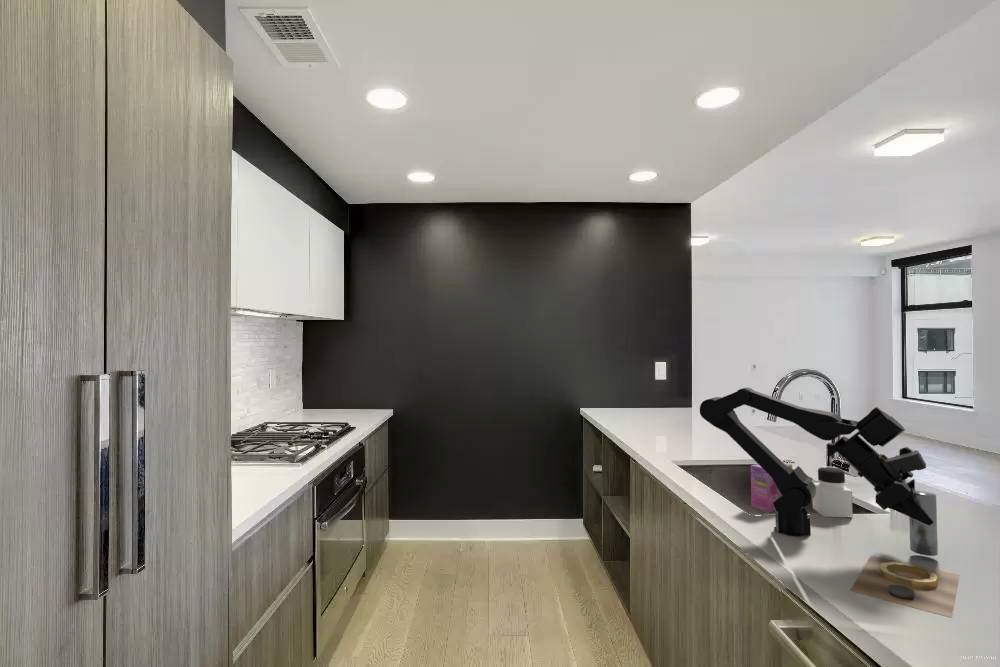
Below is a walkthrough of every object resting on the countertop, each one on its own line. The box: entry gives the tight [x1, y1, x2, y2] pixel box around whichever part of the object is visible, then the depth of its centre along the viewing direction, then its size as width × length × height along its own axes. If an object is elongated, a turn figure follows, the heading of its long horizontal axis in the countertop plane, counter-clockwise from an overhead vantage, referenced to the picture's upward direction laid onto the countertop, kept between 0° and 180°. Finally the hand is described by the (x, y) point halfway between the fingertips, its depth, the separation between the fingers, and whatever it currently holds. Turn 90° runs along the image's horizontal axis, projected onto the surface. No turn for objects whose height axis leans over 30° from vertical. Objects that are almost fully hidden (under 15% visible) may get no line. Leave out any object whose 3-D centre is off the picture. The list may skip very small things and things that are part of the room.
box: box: [750, 462, 793, 513], centre depth 145 cm, size 10×6×12 cm, turn 117°
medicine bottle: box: [812, 466, 854, 518], centre depth 139 cm, size 7×7×12 cm
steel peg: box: [908, 489, 939, 557], centre depth 109 cm, size 4×4×12 cm
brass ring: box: [879, 562, 938, 589], centre depth 99 cm, size 8×8×1 cm
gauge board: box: [849, 555, 960, 619], centre depth 98 cm, size 21×14×2 cm, turn 136°
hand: (931, 520), depth 108 cm, fingers closed on steel peg, 4 cm apart
